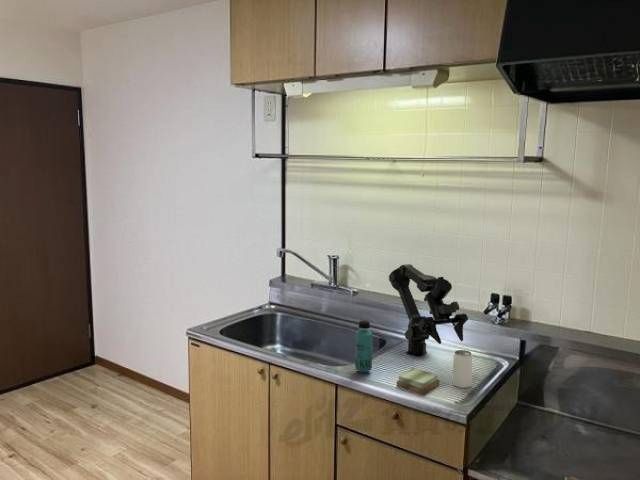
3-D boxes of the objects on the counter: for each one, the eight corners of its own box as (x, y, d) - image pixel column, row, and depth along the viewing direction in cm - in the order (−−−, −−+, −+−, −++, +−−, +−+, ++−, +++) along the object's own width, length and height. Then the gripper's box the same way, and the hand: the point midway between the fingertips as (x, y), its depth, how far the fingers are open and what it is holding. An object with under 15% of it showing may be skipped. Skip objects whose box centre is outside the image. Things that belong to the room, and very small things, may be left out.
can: (467, 390, 183) (468, 357, 182) (449, 385, 187) (450, 353, 186) (474, 384, 188) (475, 352, 187) (456, 379, 192) (458, 348, 191)
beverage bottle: (357, 368, 203) (358, 318, 200) (374, 370, 201) (375, 320, 198) (352, 374, 197) (352, 322, 194) (369, 377, 195) (370, 324, 192)
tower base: (396, 386, 186) (396, 376, 186) (412, 377, 195) (412, 366, 194) (424, 395, 179) (424, 384, 179) (439, 385, 188) (439, 374, 187)
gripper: (422, 296, 193) (437, 334, 184) (466, 292, 199) (483, 329, 190) (412, 311, 201) (425, 348, 193) (454, 307, 207) (469, 343, 198)
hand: (451, 342), depth 193 cm, fingers open, 9 cm apart
